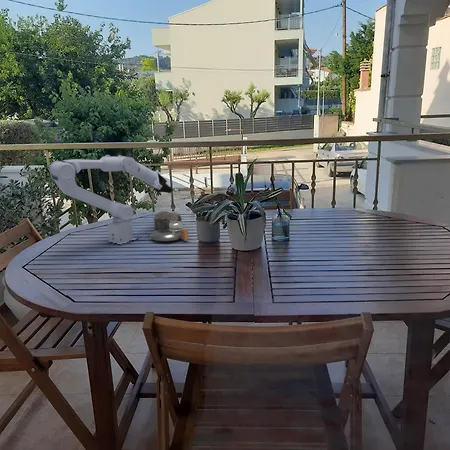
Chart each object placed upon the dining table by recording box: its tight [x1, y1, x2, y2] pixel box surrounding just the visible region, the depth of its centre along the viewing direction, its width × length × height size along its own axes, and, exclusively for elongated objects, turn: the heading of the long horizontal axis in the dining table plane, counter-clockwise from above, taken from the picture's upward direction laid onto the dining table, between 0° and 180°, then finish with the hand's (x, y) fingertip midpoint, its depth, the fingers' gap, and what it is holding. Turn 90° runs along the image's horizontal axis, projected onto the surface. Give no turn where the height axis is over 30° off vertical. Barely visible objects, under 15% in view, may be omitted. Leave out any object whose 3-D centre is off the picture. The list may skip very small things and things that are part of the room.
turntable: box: [150, 227, 190, 242], centre depth 165 cm, size 15×18×4 cm
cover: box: [169, 220, 184, 232], centre depth 169 cm, size 6×6×3 cm
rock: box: [153, 210, 182, 230], centre depth 184 cm, size 13×6×15 cm
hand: (168, 186), depth 175 cm, fingers open, 7 cm apart
